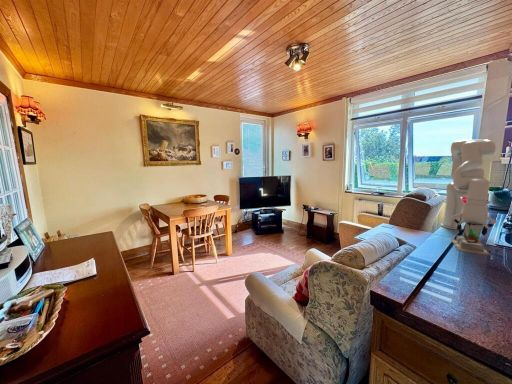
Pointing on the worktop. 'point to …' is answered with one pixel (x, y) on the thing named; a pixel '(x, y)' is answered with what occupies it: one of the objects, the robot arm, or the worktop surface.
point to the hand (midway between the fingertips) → (470, 233)
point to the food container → (472, 232)
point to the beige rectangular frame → (469, 246)
